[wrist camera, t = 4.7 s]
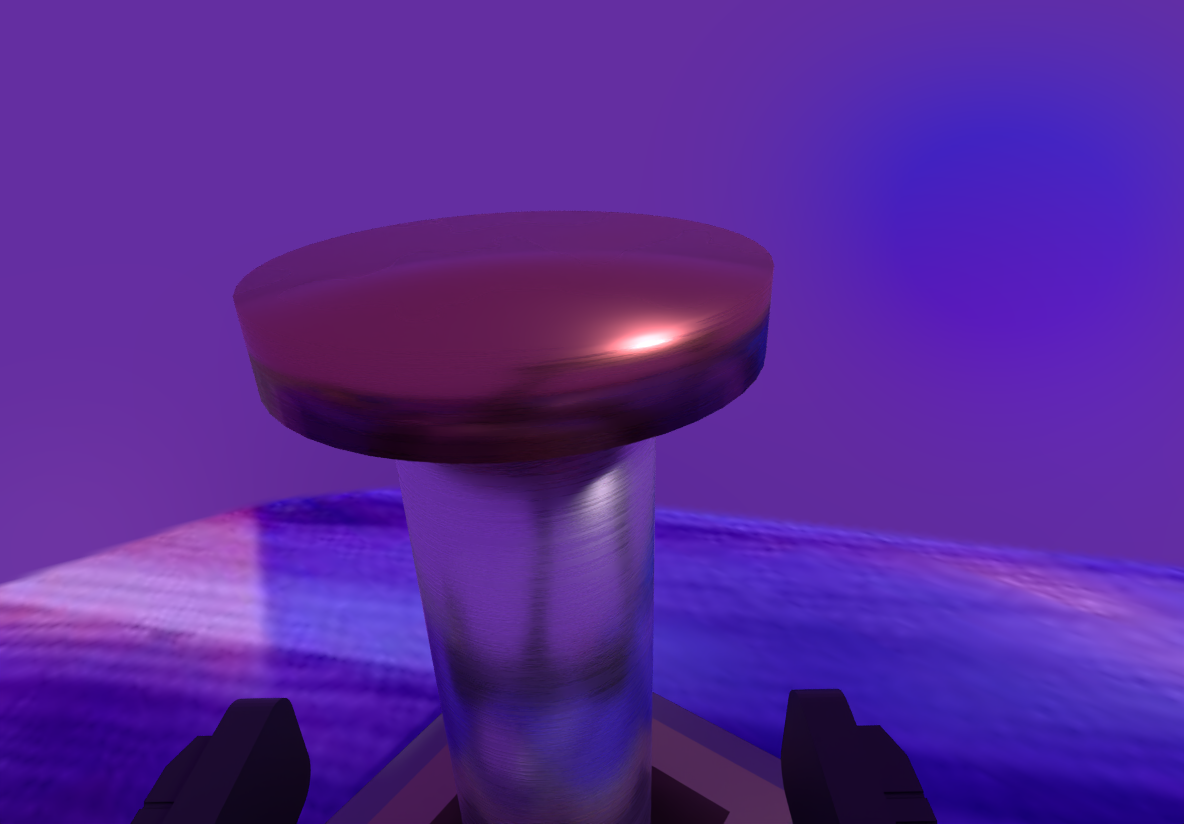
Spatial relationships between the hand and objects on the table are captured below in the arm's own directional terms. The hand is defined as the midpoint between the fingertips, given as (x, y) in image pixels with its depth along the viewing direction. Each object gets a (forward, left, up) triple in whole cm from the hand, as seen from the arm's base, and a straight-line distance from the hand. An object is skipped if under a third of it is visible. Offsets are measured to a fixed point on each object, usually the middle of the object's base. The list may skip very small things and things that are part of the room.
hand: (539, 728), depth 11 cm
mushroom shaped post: (-1, -1, -9) cm, 9 cm away
